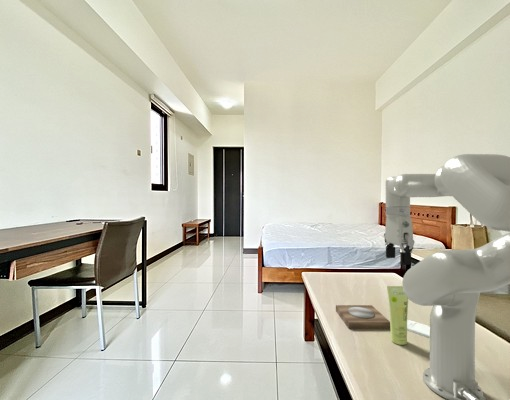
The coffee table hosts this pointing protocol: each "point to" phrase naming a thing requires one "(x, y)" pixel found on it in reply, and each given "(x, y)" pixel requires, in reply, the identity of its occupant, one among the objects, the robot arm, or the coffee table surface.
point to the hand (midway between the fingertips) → (397, 260)
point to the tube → (398, 314)
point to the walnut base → (362, 317)
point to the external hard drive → (418, 328)
